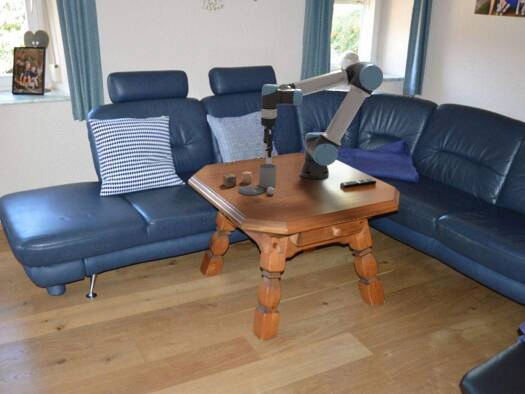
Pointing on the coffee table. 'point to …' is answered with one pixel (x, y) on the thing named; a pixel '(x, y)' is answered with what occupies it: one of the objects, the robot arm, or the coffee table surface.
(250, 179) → the peach capsule shape
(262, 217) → the coffee table surface
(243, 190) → the coaster
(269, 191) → the grey ball
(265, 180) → the cup
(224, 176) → the walnut block
